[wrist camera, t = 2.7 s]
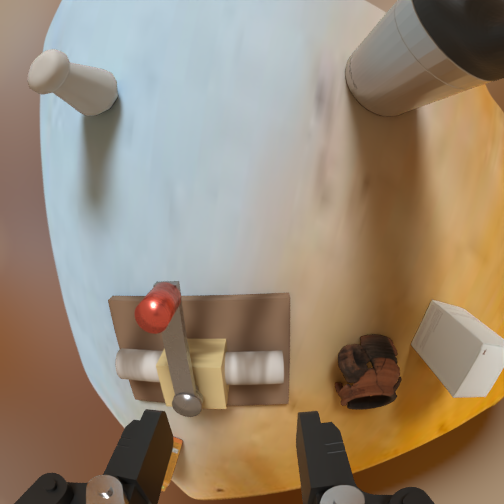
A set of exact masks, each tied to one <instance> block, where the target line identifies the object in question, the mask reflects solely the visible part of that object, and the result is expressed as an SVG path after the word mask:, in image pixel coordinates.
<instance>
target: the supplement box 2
mask: <svg viewBox="0 0 504 504" xmlns="http://www.w3.org/2000/svg"><path fill="white" fill-rule="evenodd" d="M411 346H412V347H413V348H414V349H415V351H416V352H417V353H418V354H419V355H420V357H421V358H422V359H423V360H424V361H425V363H426V364H427V365H428V366H429V368H430V369H431V370H432V371H433V372H434V374H435V375H436V376H437V377H438V379H439V380H440V381H441V382H442V384H443V385H444V386H445V387H446V389H447V390H448V391H449V393H450V394H451V395H452V397H486V395H487V394H488V392H489V391H490V389H491V388H492V386H493V385H494V383H495V381H496V380H497V378H498V376H499V375H500V373H501V371H502V370H503V368H504V339H503V338H501V337H500V336H499V335H498V334H496V333H495V332H494V331H492V330H491V329H490V328H489V327H487V326H486V325H485V324H483V323H482V322H481V321H479V320H478V319H477V318H475V317H474V316H473V315H471V314H470V313H469V312H468V311H466V310H465V309H463V308H460V307H457V306H454V305H450V304H446V303H443V302H439V301H436V300H431V302H430V305H429V307H428V309H427V311H426V314H425V316H424V318H423V320H422V322H421V324H420V326H419V328H418V330H417V332H416V334H415V336H414V338H413V341H412V343H411Z"/></svg>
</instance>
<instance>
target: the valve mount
mask: <svg viewBox="0 0 504 504" xmlns="http://www.w3.org/2000/svg"><path fill="white" fill-rule="evenodd" d="M145 297H146V296H112V297H111V298H110V299H109V300H108V303H109V307H110V312H111V316H112V320H113V325H114V329H115V333H116V337H117V341H118V344H119V348H120V350H119V351H118V353H117V355H116V362H115V365H116V371H117V374H118V376H119V377H120V378H121V379H129V382H130V385H131V388H132V391H133V394H134V397H135V399H137V400H146V401H156V402H165V403H166V406H171V407H172V401H173V398H174V395H175V392H174V388H173V384H172V380H171V376H170V371H169V367H168V362H167V358H166V353H165V348H164V343H163V338H162V333H157V334H152V333H148V332H146V331H144V330H143V329H142V328H141V327H140V326H139V325H138V324H137V322H136V320H135V309H136V307H137V306H138V304H139V303H140V302H141V301H142V300H143V299H144V298H145ZM181 300H182V307H183V314H184V321H185V327H186V334H187V340H188V346H189V352H190V358H191V364H192V370H193V375H194V380H195V386H196V390H198V391H199V392H200V393H201V394H202V396H203V404H202V408H206V409H226V408H227V405H272V404H288V402H289V364H290V295H289V293H272V294H246V295H209V296H181Z"/></svg>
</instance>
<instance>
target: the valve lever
mask: <svg viewBox="0 0 504 504" xmlns="http://www.w3.org/2000/svg"><path fill="white" fill-rule="evenodd" d="M135 320H136V322H137V324H138V325H139V326H140V327H141V328H142V329H143V330H144V331H146V332H148V333H152V334H157V333H162V338H163V343H164V348H165V353H166V358H167V362H168V367H169V371H170V376H171V380H172V384H173V388H174V392H175V395H174V398H173V401H172V407H173V409H174V410H175V411H176V412H177V413H179V414H181V415H183V416H187V417H193V416H196V415H198V414H199V413H200V412H201V408H202V404H203V396H202V394H201V393H200V392H199V391H198V390H196V386H195V380H194V375H193V370H192V364H191V358H190V352H189V346H188V340H187V334H186V327H185V321H184V314H183V307H182V300H181V292H180V284H179V281H167V282H156V283H155V284H154V288H153V289H152V290H151V291H150V292H149V293H148V294H147V295H146V297H145V298H144V299H143V300H142V301H141V302H140V303H139V304H138V306H137V307H136V309H135Z"/></svg>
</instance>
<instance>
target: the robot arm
mask: <svg viewBox="0 0 504 504" xmlns="http://www.w3.org/2000/svg"><path fill="white" fill-rule="evenodd" d="M345 72H346V80H347V84H348V86H349V89H350V91H351V93H352V94H353V96H354V97H355V98H356V100H357V101H358V102H359V103H360V104H361V105H363V106H364V107H365V108H366V109H368V110H370V111H372V112H373V113H375V114H379V115H382V116H397V115H400V114H402V113H405V112H408V111H410V110H413V109H416V108H419V107H422V106H424V105H427V104H430V103H432V102H435V101H438V100H441V99H443V98H446V97H449V96H452V95H455V94H458V93H460V92H463V91H466V90H469V89H472V88H474V87H477V86H480V85H483V84H486V83H489V82H492V81H495V80H499V79H502V78H504V0H398V1H397V2H396V3H395V4H394V5H393V6H392V7H391V9H390V10H389V11H388V12H387V13H386V14H385V15H384V17H383V18H382V19H381V20H380V21H379V22H378V24H377V25H376V26H375V27H374V28H373V30H372V31H371V32H370V33H369V34H368V36H367V37H366V38H365V39H364V40H363V42H362V43H361V44H360V45H359V46H358V48H357V49H356V50H355V51H354V52H353V54H352V55H351V56H350V58H349V60H348V61H347V65H346V69H345ZM173 443H174V440H173V434H172V431H171V428H170V425H169V422H168V418H167V415H166V413H165V412H164V411H157V410H148V409H146V410H145V411H144V413H143V415H142V418H141V420H140V421H139V420H133V421H132V422H131V423H130V424H129V425H127V426H126V427H125V429H124V431H123V433H122V436H121V439H120V440H119V442H118V444H117V446H116V448H115V450H114V453H113V455H112V457H111V459H110V461H109V463H108V465H107V468H106V470H105V472H104V474H103V475H100V476H96V477H94V478H92V479H91V480H90V481H89V482H88V483H70V482H66V481H65V480H64V478H63V477H62V476H60V475H59V474H56V473H47V474H44V475H42V476H41V477H39V478H38V480H37V481H36V482H35V483H34V484H33V485H32V486H31V487H30V488H29V489H28V490H27V491H26V492H25V493H24V494H23V495H22V496H21V497H20V499H18V500H17V501H16V503H15V504H157V503H158V500H159V496H160V493H161V489H162V485H163V482H164V478H165V475H166V471H167V467H168V464H169V460H170V457H171V453H172V450H173ZM296 448H297V457H298V465H299V473H300V481H301V490H302V498H303V504H434V502H433V501H432V500H431V499H430V497H429V496H428V495H427V494H426V493H425V492H424V491H423V490H421V489H419V488H416V487H407V488H403V489H401V490H399V491H397V492H396V493H395V494H394V495H373V494H368V493H365V492H363V491H362V490H360V489H359V488H358V487H357V486H356V484H355V482H354V479H353V475H352V472H351V468H350V464H349V461H348V457H347V454H346V452H345V447H344V443H343V440H342V436H341V433H340V430H339V429H338V428H337V427H336V426H335V425H334V424H333V423H332V422H328V423H321V422H320V417H319V413H318V411H311V412H299V413H298V420H297V433H296Z"/></svg>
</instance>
